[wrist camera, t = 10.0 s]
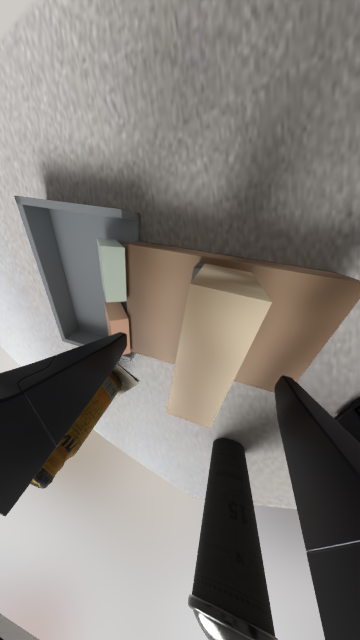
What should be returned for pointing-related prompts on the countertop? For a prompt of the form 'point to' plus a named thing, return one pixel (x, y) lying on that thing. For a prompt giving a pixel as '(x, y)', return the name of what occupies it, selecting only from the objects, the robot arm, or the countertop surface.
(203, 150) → the countertop surface
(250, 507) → the drinking cup
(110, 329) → the tile terracotta
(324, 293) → the walnut board
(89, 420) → the condiment
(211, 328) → the tall cream block
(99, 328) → the tray
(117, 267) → the tile sage
